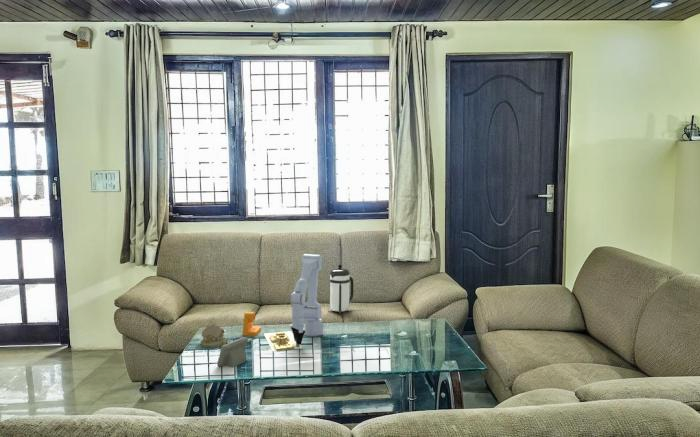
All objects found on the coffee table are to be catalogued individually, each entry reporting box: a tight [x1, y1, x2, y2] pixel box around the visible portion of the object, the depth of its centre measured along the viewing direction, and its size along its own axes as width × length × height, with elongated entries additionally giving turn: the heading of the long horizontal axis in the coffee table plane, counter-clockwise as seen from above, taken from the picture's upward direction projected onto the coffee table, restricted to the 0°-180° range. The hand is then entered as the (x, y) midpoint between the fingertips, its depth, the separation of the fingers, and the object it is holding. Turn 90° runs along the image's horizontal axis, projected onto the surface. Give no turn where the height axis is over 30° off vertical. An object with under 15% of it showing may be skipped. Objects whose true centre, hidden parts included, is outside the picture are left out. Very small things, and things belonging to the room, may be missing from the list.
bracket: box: [242, 311, 262, 337], centre depth 279 cm, size 11×7×12 cm, turn 174°
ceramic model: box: [200, 323, 228, 347], centre depth 265 cm, size 14×11×10 cm
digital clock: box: [216, 336, 249, 368], centre depth 238 cm, size 16×9×11 cm, turn 138°
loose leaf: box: [270, 331, 289, 342], centre depth 269 cm, size 9×8×4 cm
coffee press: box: [327, 264, 354, 316], centre depth 324 cm, size 17×16×30 cm
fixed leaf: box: [274, 335, 296, 352], centre depth 259 cm, size 9×13×4 cm
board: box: [263, 330, 303, 352], centre depth 267 cm, size 15×28×1 cm, turn 18°
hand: (297, 342), depth 259 cm, fingers open, 5 cm apart
